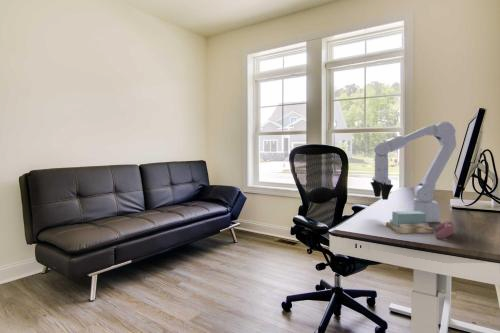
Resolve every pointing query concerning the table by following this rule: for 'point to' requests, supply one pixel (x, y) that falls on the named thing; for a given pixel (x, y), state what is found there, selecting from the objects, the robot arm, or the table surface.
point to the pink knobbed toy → (445, 229)
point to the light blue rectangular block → (408, 217)
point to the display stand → (410, 228)
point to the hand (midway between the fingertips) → (381, 198)
